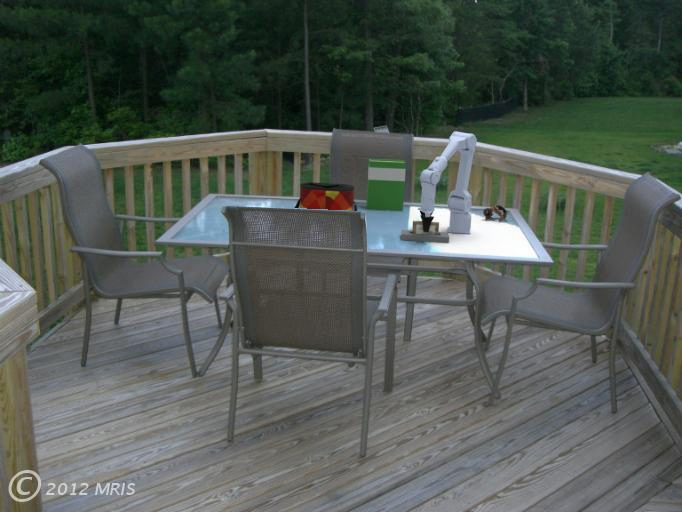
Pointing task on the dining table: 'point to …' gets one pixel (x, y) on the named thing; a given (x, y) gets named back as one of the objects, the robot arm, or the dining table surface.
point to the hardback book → (386, 184)
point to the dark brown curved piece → (488, 212)
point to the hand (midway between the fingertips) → (425, 229)
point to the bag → (326, 196)
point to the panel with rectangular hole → (425, 237)
